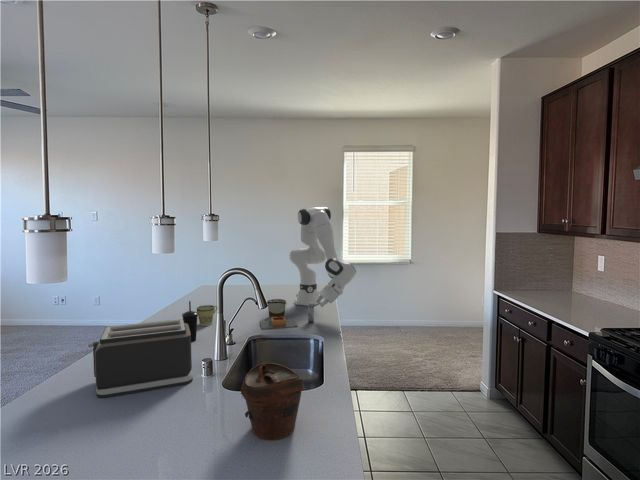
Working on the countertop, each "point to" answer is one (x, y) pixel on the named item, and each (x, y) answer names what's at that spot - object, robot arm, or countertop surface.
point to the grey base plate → (278, 323)
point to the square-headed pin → (311, 312)
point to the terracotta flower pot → (272, 399)
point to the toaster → (142, 358)
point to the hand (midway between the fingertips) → (318, 304)
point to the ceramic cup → (206, 314)
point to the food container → (276, 307)
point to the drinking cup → (191, 322)
